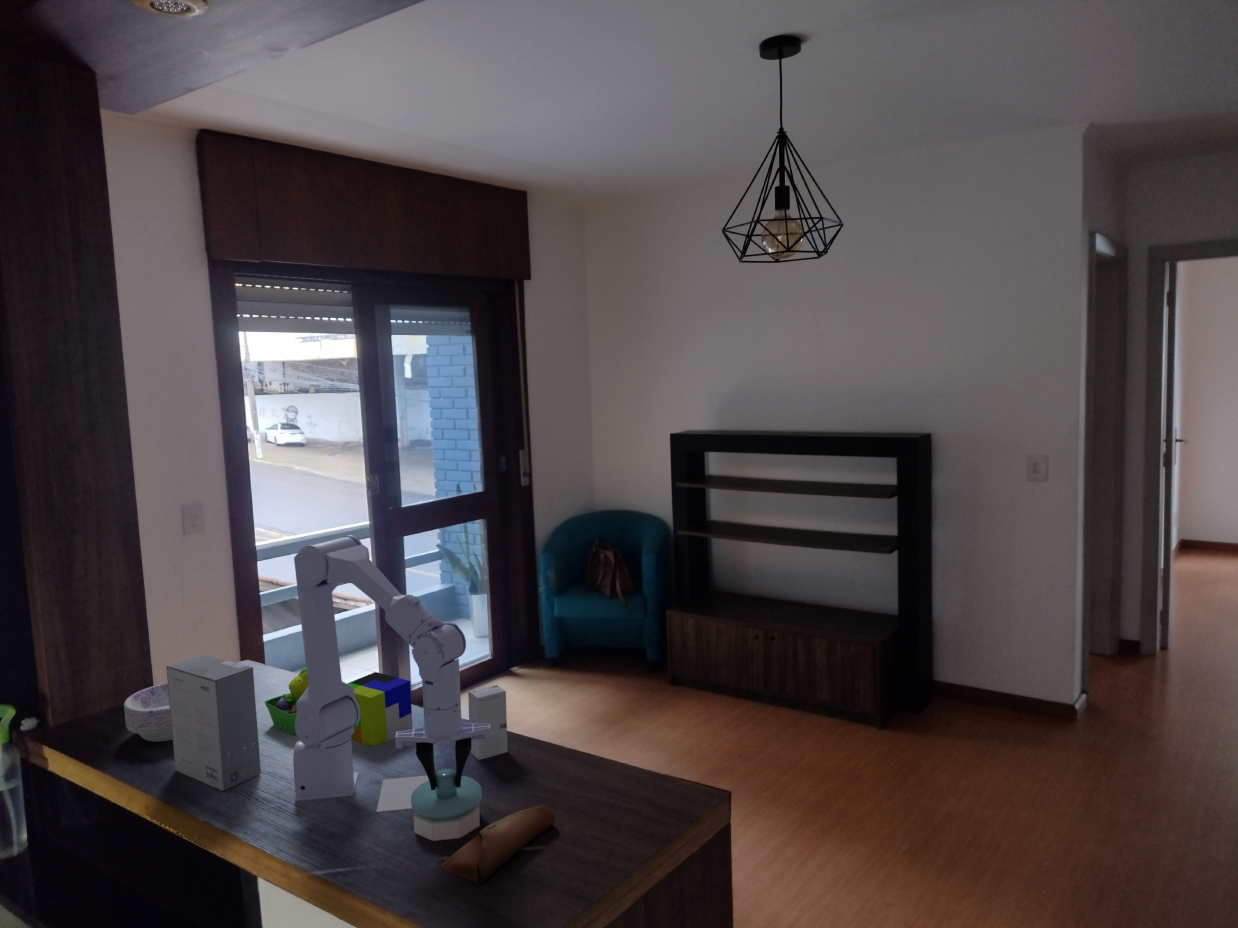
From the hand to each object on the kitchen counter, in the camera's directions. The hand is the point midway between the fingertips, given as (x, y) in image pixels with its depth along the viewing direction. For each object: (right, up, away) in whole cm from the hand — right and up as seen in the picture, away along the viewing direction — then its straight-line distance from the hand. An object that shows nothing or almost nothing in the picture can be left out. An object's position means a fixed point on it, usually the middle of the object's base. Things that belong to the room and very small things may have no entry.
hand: (446, 785), depth 136 cm
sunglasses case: (+9, -8, -6) cm, 13 cm away
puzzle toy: (-21, -3, +36) cm, 41 cm away
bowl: (0, -6, +1) cm, 6 cm away
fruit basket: (-38, -3, +40) cm, 55 cm away
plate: (-8, -5, +11) cm, 14 cm away
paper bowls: (-63, -3, +38) cm, 73 cm away
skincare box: (+3, -4, +25) cm, 26 cm away
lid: (0, -2, +1) cm, 2 cm away
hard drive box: (-45, -5, +20) cm, 50 cm away
